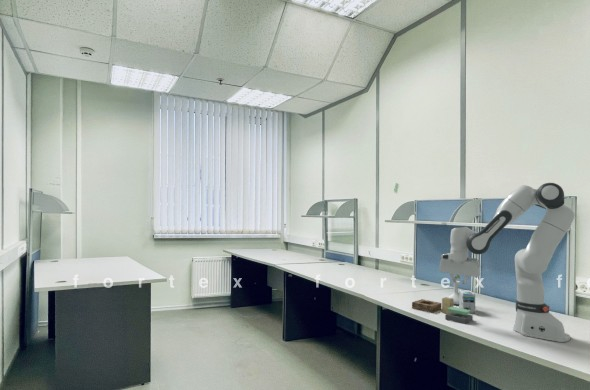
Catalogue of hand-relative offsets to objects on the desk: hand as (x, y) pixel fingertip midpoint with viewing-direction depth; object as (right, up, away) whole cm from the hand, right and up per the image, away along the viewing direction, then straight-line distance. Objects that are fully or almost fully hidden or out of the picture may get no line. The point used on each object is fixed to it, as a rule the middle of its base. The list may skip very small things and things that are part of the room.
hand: (459, 283), depth 197 cm
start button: (0, -17, -1) cm, 17 cm away
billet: (-1, -20, +13) cm, 23 cm away
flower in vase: (+14, -21, +35) cm, 43 cm away
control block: (0, -19, -1) cm, 19 cm away
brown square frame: (-10, -20, +21) cm, 30 cm away
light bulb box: (+13, -21, +19) cm, 31 cm away
